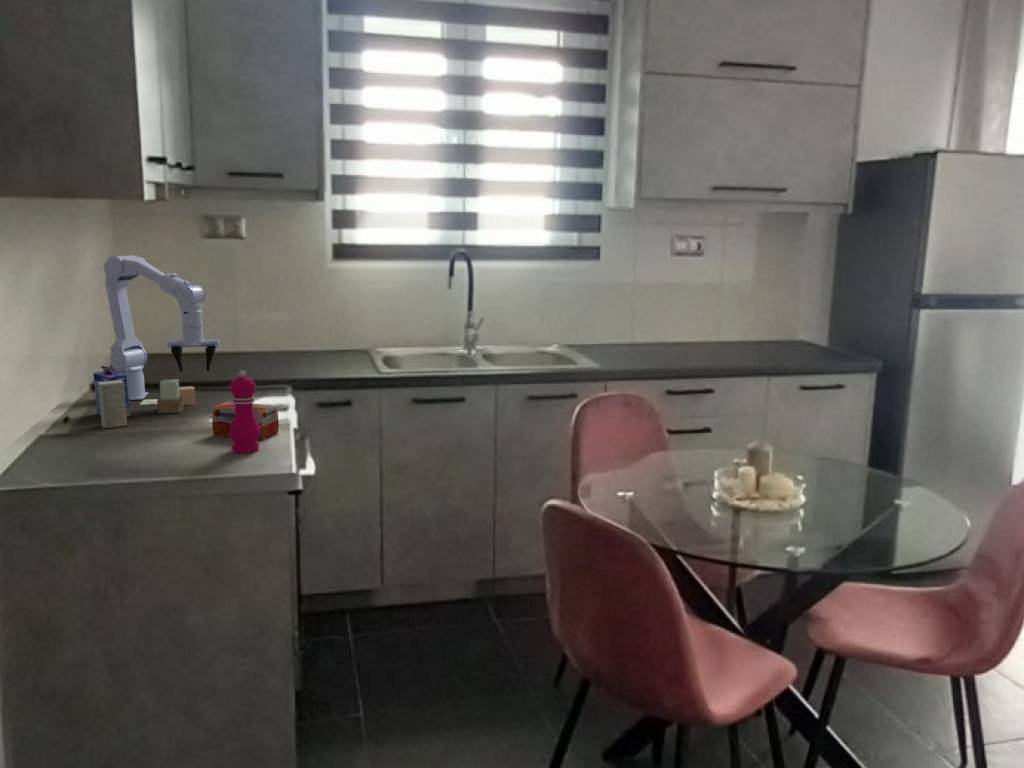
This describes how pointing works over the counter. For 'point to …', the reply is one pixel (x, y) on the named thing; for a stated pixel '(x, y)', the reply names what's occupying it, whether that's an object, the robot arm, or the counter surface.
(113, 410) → the skincare box
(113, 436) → the counter surface
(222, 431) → the medicine box
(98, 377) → the ink cartridge box
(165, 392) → the sage block
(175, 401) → the base block
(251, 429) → the pepper mill
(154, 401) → the tile
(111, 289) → the robot arm
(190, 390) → the clay block
